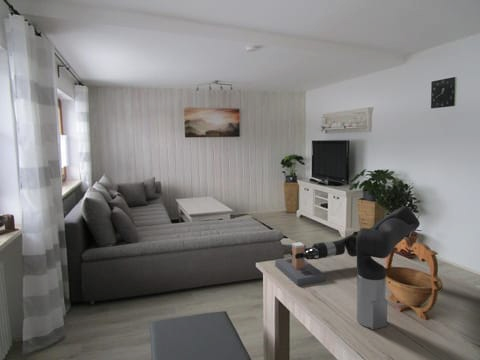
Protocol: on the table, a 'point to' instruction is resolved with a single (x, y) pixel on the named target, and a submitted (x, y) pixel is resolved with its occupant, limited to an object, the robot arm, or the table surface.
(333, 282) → the table surface
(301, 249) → the plug
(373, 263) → the robot arm
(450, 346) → the table surface
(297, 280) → the grey flat rectangular block
